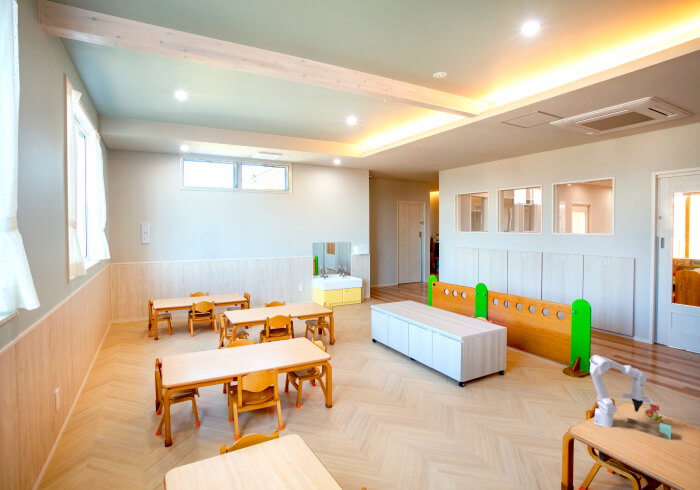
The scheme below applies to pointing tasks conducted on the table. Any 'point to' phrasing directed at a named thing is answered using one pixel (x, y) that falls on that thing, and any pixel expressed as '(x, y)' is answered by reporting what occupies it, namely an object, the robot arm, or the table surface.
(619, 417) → the table surface
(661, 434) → the chute
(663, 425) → the block
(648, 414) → the bird rattle
